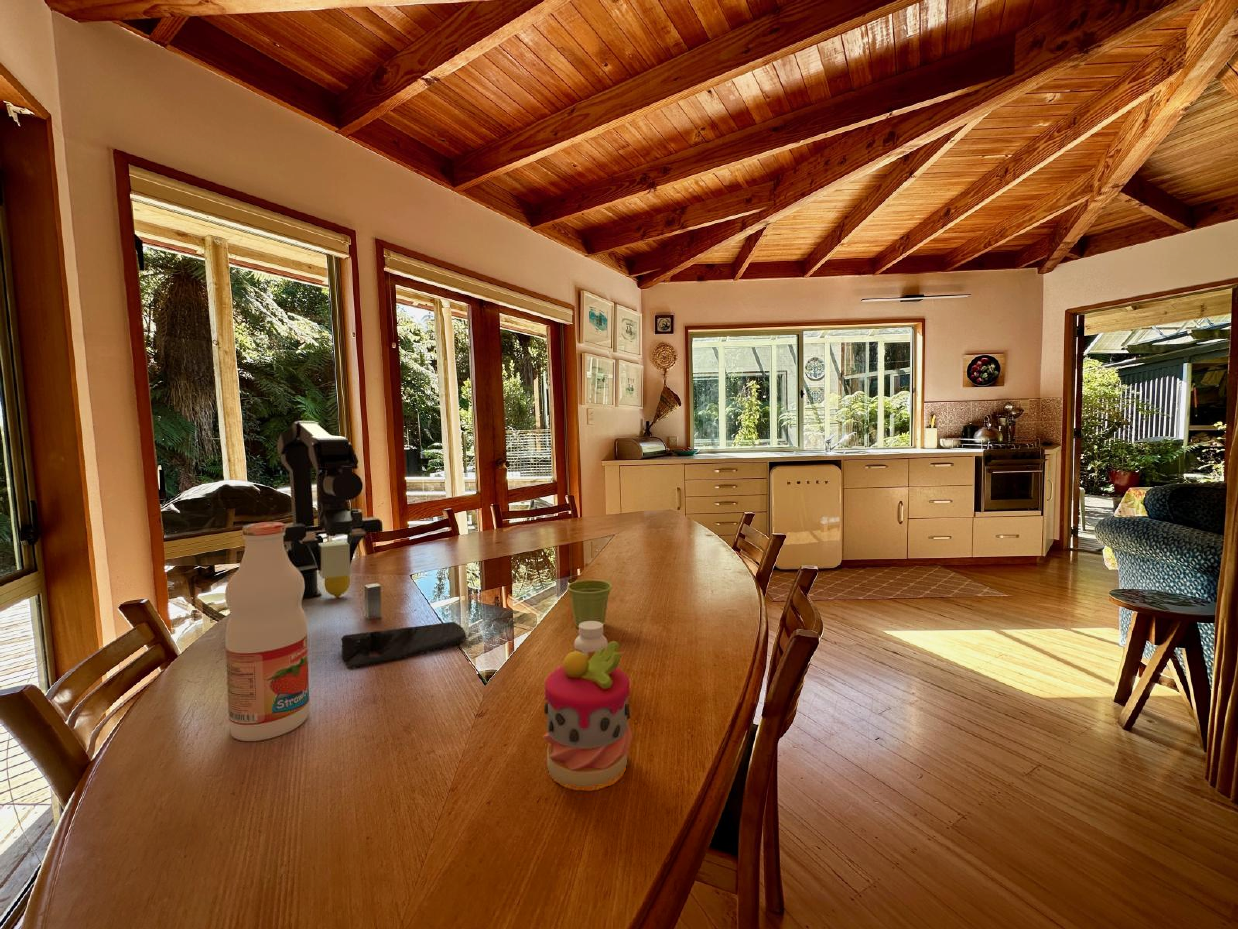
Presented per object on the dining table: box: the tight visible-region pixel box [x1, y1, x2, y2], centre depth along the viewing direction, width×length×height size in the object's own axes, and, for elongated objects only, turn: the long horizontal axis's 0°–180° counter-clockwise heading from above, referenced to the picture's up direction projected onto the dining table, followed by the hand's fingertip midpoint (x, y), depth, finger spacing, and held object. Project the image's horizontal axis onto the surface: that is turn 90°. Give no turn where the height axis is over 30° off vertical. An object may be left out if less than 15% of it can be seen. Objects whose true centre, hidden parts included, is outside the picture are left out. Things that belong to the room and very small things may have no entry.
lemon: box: [324, 575, 351, 599], centre depth 131 cm, size 6×6×8 cm
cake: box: [541, 640, 633, 787], centre depth 65 cm, size 10×11×15 cm
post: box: [364, 582, 382, 621], centre depth 118 cm, size 3×3×7 cm
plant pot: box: [566, 579, 613, 626], centre depth 113 cm, size 9×9×9 cm
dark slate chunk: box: [340, 621, 467, 669], centre depth 102 cm, size 15×22×5 cm
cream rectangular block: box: [317, 540, 351, 580], centre depth 115 cm, size 5×5×7 cm
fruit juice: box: [224, 521, 310, 742], centre depth 74 cm, size 9×9×28 cm
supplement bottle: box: [573, 621, 609, 661], centre depth 87 cm, size 5×5×10 cm
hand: (334, 568), depth 115 cm, fingers closed on cream rectangular block, 5 cm apart
